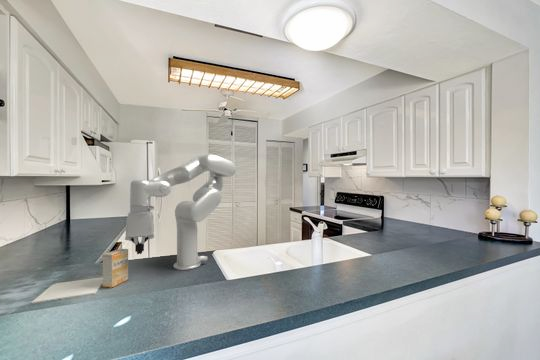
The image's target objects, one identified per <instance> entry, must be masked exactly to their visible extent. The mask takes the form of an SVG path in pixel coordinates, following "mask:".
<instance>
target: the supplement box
mask: <svg viewBox="0 0 540 360" xmlns="http://www.w3.org/2000/svg"><path fill="white" fill-rule="evenodd" d="M102 277H103V281H102V283H103V284H102V285H101V287H102V288H107V287H109V288H108V289H112V287H113V288H114V287H116V286H118V285H120V284H122V283H124V282H126V281H128V280H129V248H118V249H114V250H112V251H108V252H106V253H103V254H102Z"/></svg>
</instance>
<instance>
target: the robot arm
mask: <svg viewBox="0 0 540 360" xmlns="http://www.w3.org/2000/svg"><path fill="white" fill-rule="evenodd" d="M236 171H237V165H235V163H234V162H233V161H231V160H229V159H227V158H225V157H222V156H219V155H216V154H213V153H208V154H202V155H197V156H196V157H194V158H193V159H190V160H189V161H187V162H185V163H182V164H181V165H179V166H177V167H174V168H172V169H169V170H168V171H166V172H163V173H160V174H159V175H158V176H157V175H156V176H155V177H153V178H151V179H149V180H146V179H143V180H142V179H134V180H132V181H131V182H130V190H129V192H130V195H129V196H130V197H129V198H130V199H129V212H128V213H127V218H126V225H125V237H124V240H125V241H131V242H132V243H133V244H134V245H135V247H134V248H135V249H134V250H135V253H136V255H142V253H143V252H144V251H145V243H146V242H147V241H148V240H151V239H154V238H155V234H154V228H155V227H154V223H155V222H154V215H153V210H155V206H153V205H151V197H155V198H164V197H167V196H168V195H169V194H171V191H172V187H173V186H176V185H180V184H185V183H187V182H190V181H192V180H193V179H195V178H197V177H198V176H200V175H201V174H204V173H205V172H209V179H208V180H207V181H206V182H205V183H204V184H203V185H202V186H200V188H198V189H197V190H196V191H195V192H194V193H193V194H192V195H193V196H192V200H184V201H181V202H179V203H178V204H177V205H176V206H175V209H174V217H175V221H176V262H175V263H174V264H173V269H175V270H178V271H187V270H192V269H196V268H198V267H200V266H201V264H202V262H203V261H208V256H207V255H206V256H205V255H199V253H198V224H197V223H200V222H202V221H204V220H205V219H206V218H207V217H208V216H210V215H211V214H212V213H213V212H214V211H215V209H216V208H218V206H219V205H220V203H221V201H222V194H221V190H223V187H224V181H223V180H224V178H228V177H229V178H230V177H232V176H234V175H235V174H236ZM139 238H141V239H140V240H141V241H139Z"/></svg>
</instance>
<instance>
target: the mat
mask: <svg viewBox="0 0 540 360" xmlns="http://www.w3.org/2000/svg"><path fill="white" fill-rule="evenodd" d="M102 281H103V276H100V277H94V278H87V279H81V280H80V279H79V280H78V279H77V280H71V281H64V282H63V281H62V282H56V283H53V284H52V285H50V286H49V287H48V288H47V289H46V290H44V291H43V292H42V293H40V294H39V295H38V296H37V297H35V299H33V300H32V301H31V302H30V304H31V305H34V304H39V303H40V304H41V303H47V301H48V302H53V301H52V300H54V301H59V300H58V299H61V300H66V299H65V298H67V299H73V298H79V297H85V296H93V295H96V293H97V292H98V290H100V288H101V287H102V286H103V285H102V284H103V283H102Z"/></svg>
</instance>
